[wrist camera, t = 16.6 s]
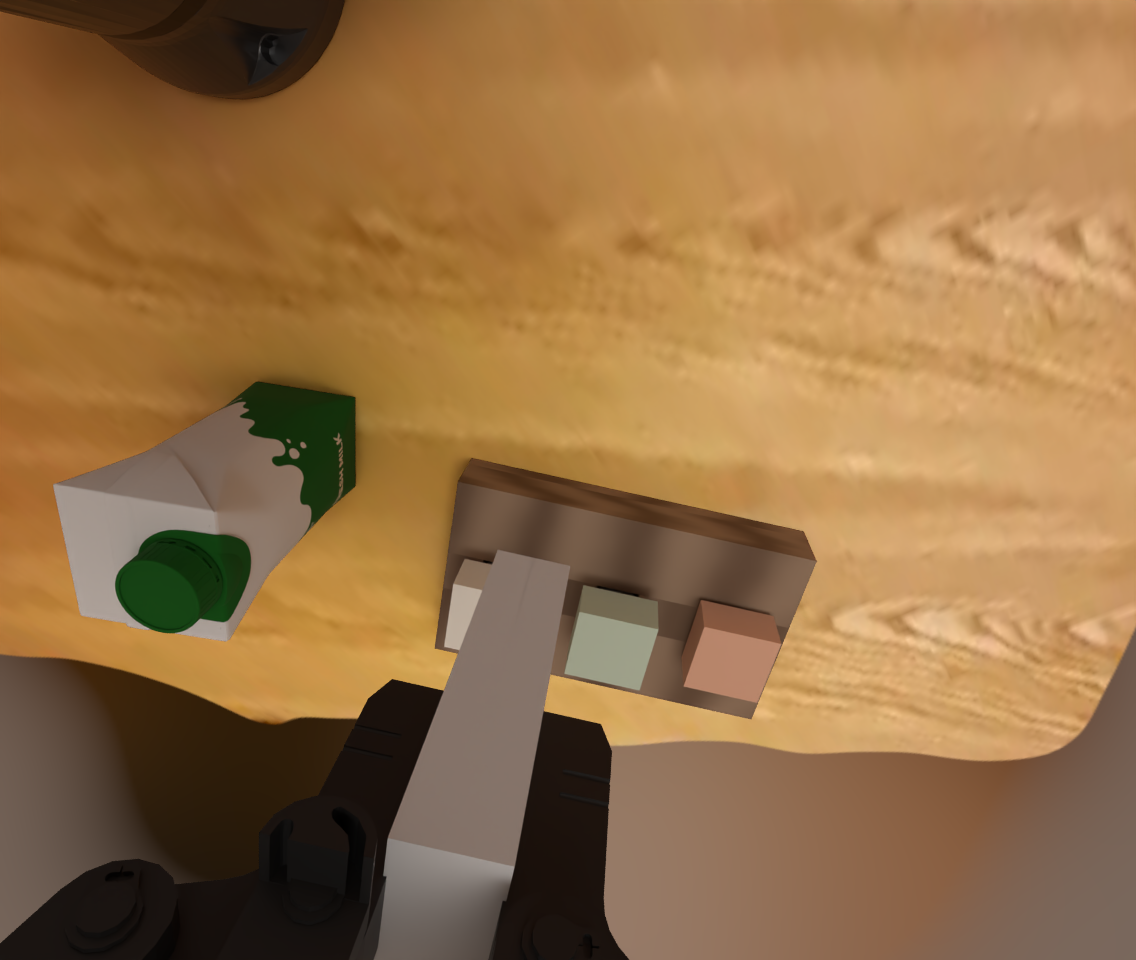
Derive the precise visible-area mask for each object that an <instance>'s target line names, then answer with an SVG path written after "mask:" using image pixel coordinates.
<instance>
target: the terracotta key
mask: <svg viewBox="0 0 1136 960" xmlns="http://www.w3.org/2000/svg"><path fill="white" fill-rule="evenodd" d="M780 646H781V641H780V637H779V634H778V630H777V627H776V623H775V620H774V616H771V615H767V614H762V613H758V612H753V611H749V610H744V609H740V608H735V607H731V606H726V605H722V604H717V603H713V602H708V601H704V600H701V601H700V604H699V607H698V610H697V613H696V616H695V619H694V622H693V625H692V628H691V631H690V634H689V637H688V639H687V642H686V645H685V648H684V651H683V654H682V657H681V658H682V671H683V684H684V687H688V688H693V689H697V690H702V691H706V692H711V693H715V694H720V695H724V696H728V697H733V698H737V699H742V700H746V701H751V702H755V703H757V702H758V700H759V697H760V695H761V692H762V690H763V688H764V685H765V683H766V680H767V678H768V676H769V673H770V671H771V668H772V666H773V663H774V661H775V659H776V656H777V654H778V651H779V649H780Z"/></svg>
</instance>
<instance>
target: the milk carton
mask: <svg viewBox="0 0 1136 960" xmlns="http://www.w3.org/2000/svg"><path fill="white" fill-rule="evenodd" d="M53 487H54V492H55V497H56V501H57V506H58V511H59V516H60V520H61V525H62V530H63V534H64V539H65V544H66V549H67V553H68V558H69V563H70V568H71V572H72V577H73V582H74V587H75V591H76V596H77V601H78V605H79V610H80V614H81V615H82V616H87V617H92V618H98V619H104V620H110V621H116V622H122V623H126V624H127V626H129V627H132V628H138V629H144V630H150V629H151V630H154V631H158V632H162V633H176V634H182V635H188V636H195V637H201V638H207V639H213V640H220V641H227V640H229V639H230V638H231V636H232V635H233V633H234V631H235V630H236V628H237V626H238V625H239V623H240V621H241V620H242V618H243V616H244V615H245V613H246V611H247V610H248V608H249V606H250V605H251V603H252V601H253V600H254V598H255V596H256V595H257V593H258V591H259V590H260V588H261V586H262V585H263V583H264V581H265V580H266V578H267V576H268V575H269V574H270V573H271V571H272V570H273V569H274V568H275V567H276V566H277V565H278V564H279V563H280V561H281V560H282V559H283V558H284V557H285V556H286V555H287V554H288V553H289V552H290V551H291V549H292V548H293V547H294V546H295V545H296V544H297V543H298V542H299V541H300V540H301V539H302V537H303V536H304V535H305V534H306V533H307V532H308V531H309V530H310V529H311V528H312V527H313V525H314V524H315V523H316V522H317V521H318V520H319V519H320V518H321V517H322V516H323V515H324V514H325V512H327V511H328V510H329V509H330V508H331V507H332V506H333V505H334V504H336V503H337V502H338V501H339V500H340V499H341V498H342V497H344V496H345V495H346V494H347V493H348V492H349V491H350V490H352V489H353V488H354V487H355V397H351V396H345V395H338V394H332V393H326V392H319V391H313V390H307V389H300V388H294V387H288V386H281V385H275V384H269V383H262V382H255V383H254V384H253V385H251V386H250V387H249V388H248V389H246V390H245V391H244V392H243V393H241V394H240V395H239V396H238V397H236V398H235V399H234V400H233V401H231V402H230V403H229V404H228V405H226V406H225V407H223V408H221V409H220V410H218V411H216V412H214V413H213V414H211V415H209V416H207V417H206V418H204V419H202V420H201V421H199V422H197V423H195V424H194V425H192V426H190V427H188V428H187V429H185V430H183V431H181V432H180V433H178V434H176V435H174V436H173V437H171V438H169V439H167V440H166V441H164V442H162V443H160V444H159V445H157V446H155V447H153V448H152V449H150V450H148V451H146V452H144V453H141V454H138V455H136V456H133V457H130V458H128V459H125V460H122V461H119V462H116V463H114V464H111V465H108V466H105V467H102V468H100V469H97V470H94V471H91V472H88V473H85V474H82V475H80V476H77V477H74V478H71V479H68V480H65V481H62V482H59V483H56V484H53Z"/></svg>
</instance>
